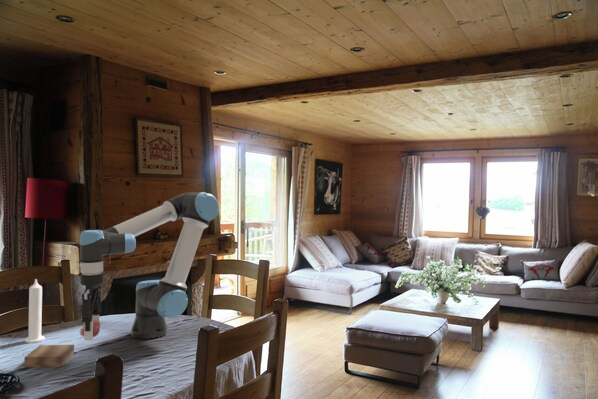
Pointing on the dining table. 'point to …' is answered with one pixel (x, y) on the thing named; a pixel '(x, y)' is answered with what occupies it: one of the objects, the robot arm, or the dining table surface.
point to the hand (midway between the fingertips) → (91, 336)
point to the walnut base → (49, 356)
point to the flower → (95, 328)
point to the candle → (35, 313)
